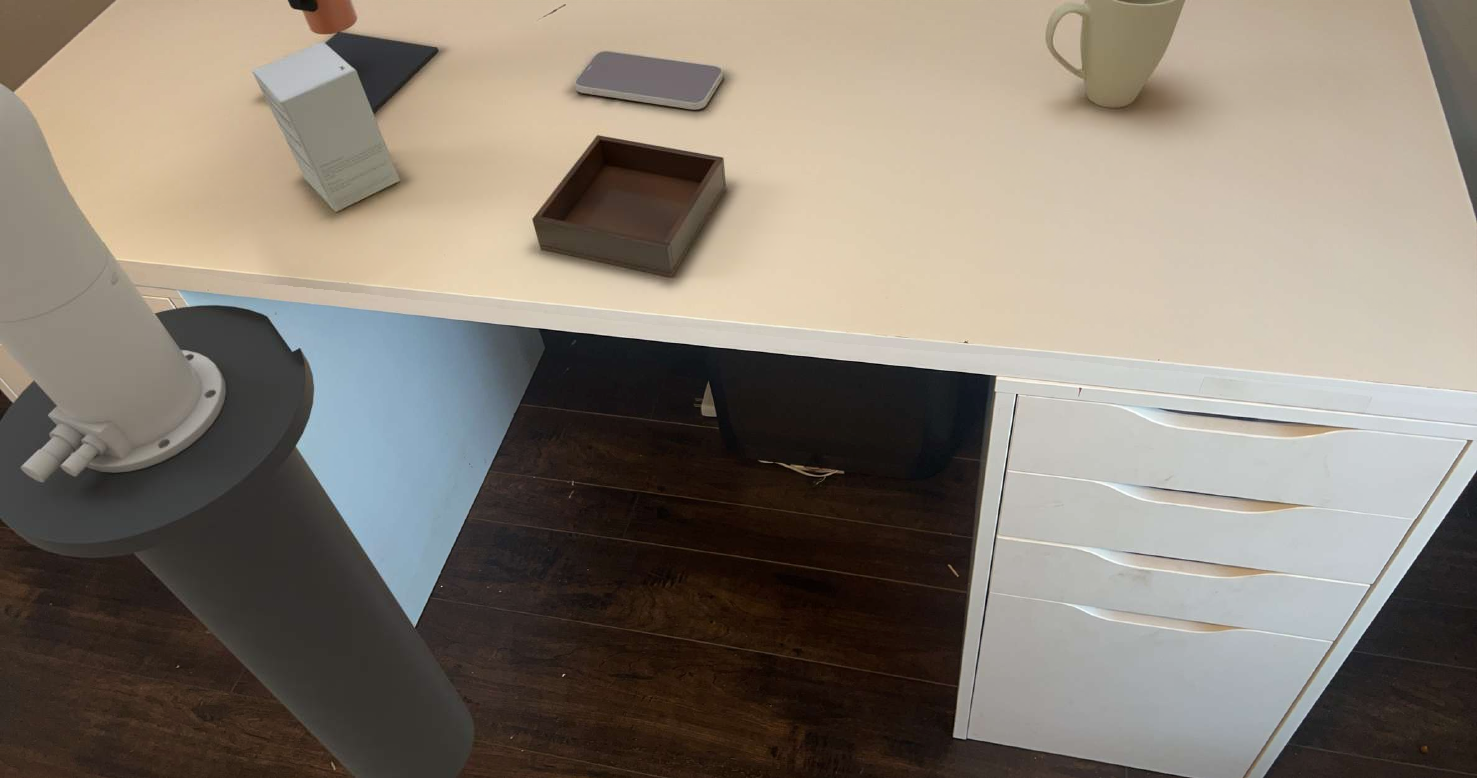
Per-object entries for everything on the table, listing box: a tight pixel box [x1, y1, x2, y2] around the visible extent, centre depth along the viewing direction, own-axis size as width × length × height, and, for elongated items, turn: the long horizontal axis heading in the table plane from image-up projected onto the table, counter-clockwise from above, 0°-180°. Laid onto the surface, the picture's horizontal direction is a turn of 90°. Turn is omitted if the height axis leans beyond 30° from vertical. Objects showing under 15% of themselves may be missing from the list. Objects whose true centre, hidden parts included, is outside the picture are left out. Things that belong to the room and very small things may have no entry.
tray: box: [531, 134, 727, 278], centre depth 92 cm, size 13×13×4 cm
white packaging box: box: [251, 41, 401, 213], centre depth 95 cm, size 7×7×13 cm
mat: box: [324, 31, 439, 115], centre depth 113 cm, size 14×14×1 cm
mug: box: [1045, 0, 1186, 109], centre depth 96 cm, size 11×10×12 cm
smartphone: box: [574, 50, 724, 111], centre depth 107 cm, size 7×1×15 cm
